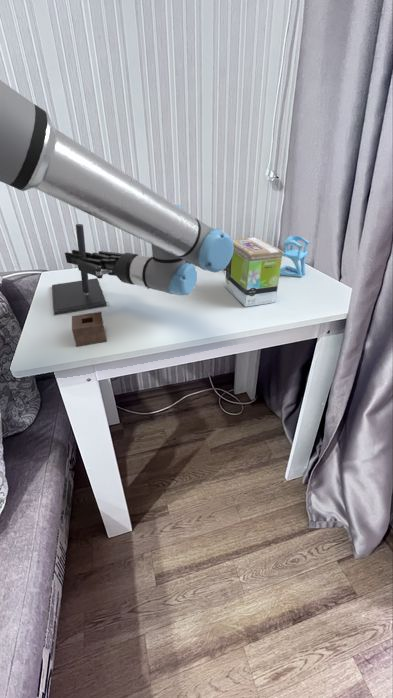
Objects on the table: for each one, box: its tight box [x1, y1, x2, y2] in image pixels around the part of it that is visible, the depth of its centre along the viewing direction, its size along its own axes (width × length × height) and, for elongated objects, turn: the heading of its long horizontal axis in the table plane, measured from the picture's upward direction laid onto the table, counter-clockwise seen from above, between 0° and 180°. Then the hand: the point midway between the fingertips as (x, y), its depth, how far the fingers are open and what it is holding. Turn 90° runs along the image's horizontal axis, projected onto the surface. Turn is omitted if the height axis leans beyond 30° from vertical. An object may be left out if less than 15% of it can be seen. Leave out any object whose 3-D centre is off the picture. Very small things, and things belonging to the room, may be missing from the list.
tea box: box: [224, 236, 284, 307], centre depth 91 cm, size 15×10×15 cm
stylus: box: [75, 223, 89, 295], centre depth 88 cm, size 2×2×20 cm
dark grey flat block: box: [51, 277, 108, 316], centre depth 96 cm, size 20×14×1 cm
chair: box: [279, 235, 310, 278], centre depth 105 cm, size 8×8×12 cm
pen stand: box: [71, 311, 108, 347], centre depth 76 cm, size 7×7×4 cm
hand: (70, 256), depth 90 cm, fingers closed on stylus, 2 cm apart
